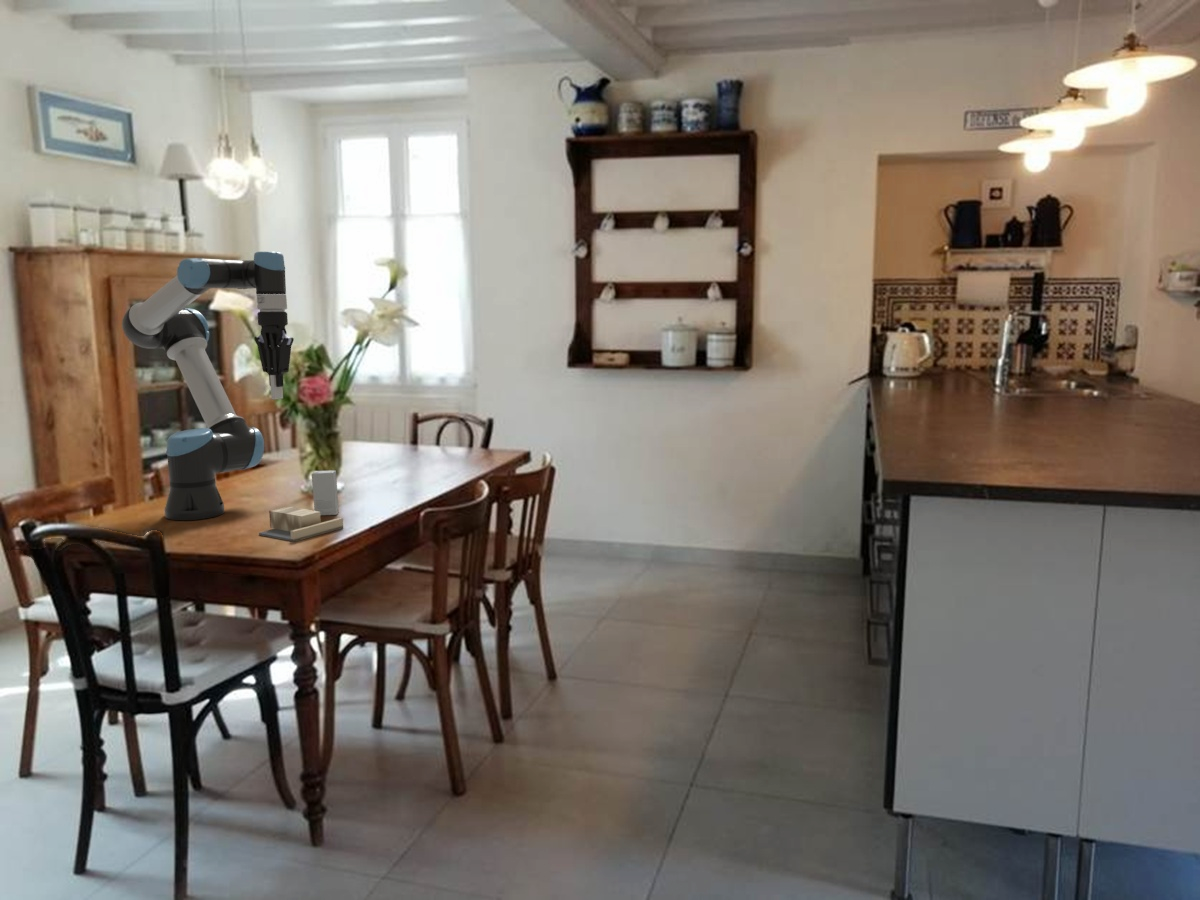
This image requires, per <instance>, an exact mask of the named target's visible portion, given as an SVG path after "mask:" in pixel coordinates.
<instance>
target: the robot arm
mask: <svg viewBox="0 0 1200 900" xmlns="http://www.w3.org/2000/svg"><path fill="white" fill-rule="evenodd" d="M178 264H179V265H178V266H177V269H176V275H175V277H173V278H172V279H170V280H169V281H168V282H167V283H166V284H164V285H163V286H162V287H161V288H159V289H158V290H157V291H156V292H154V293H153V294H152V295H150V297H148V298H147V299H146V300H145V301H143V302H137V303H135V304H133V305H132V306H131V307H130V308H128V310H127V311H126V312H125V313H124V314H123V317H122V320H121V326H122V331H123V333H124V335H125V337H126V338H127V340H129V341H130V342H131V343H132V344H134V345H135V346H137V347H140V348H142V349H143V348H144V349H154V350H155V349H163V350H164V351H165V354H166V355H167V357H168V359H170V360H172V361H176V364H177V367H178V368H179V370H180V372H181V375H182V377H183V378H184V381H185V383H186V385H187V387H188V390H189V391H190V393H191V396H192V398H193V400H194V402H195V405H196V407H197V408H198V410H199V413H200V414H201V417H202V419H203V421H204V423H205V425H206V427H197V428H194V429H193V428H190V429H186V430H185V429H184V430H181V431H177V432H175V433H172V434H170V436H169V437H168V438H167V440H166V456H167V466H168V467H167V468H168V469H167V470H168V477H169V478H168V480H169V491H168V492H169V493H168V496H167V500H166V503H165V507H164V517H165V519H168V520H173V521H195V520H203V519H204V520H206V519H210V518H214V517H218V516H221V515H223V514H225V503H224V502H223V498H222V497H221V494H220V491H219V489H218V488H217V483H216V482H217V481H216V480H217V479H216V474H221V473H227V472H232V471H240V470H243V471H244V470H246V469H250V468H253V467H256V466H258V465H259V463H260V462H261V460H262V459H263V456H264V451H265V440H264V436H263V434H262V432H261V431H260V430H259V429H258V428H256V427H253V426H248V424H247V422H246V419H245V418H244V417H242V416H240V415H237V414H236V411H235V409H234V407H233V406H232V404H231V401H230V399H229V397H228V395H227V393H226V390H225V388H224V387H223V385H222V382H221V380H220V378H219V376H218V375H217V371H216V370H215V368H214V366H213V364H212V362H211V360H210V358H209V355H208V354H207V351H206V349H207V347H208V341H209V339H210V331H209V327H210V326H209V324H208V321H207V319H206V317H205V316H204V315H203V314H202V313H201V312H200V311H199V310H197V309H194V308H189V307H188V306H189V305H191V304H192V303H193V302H194V301H195V300H197V299H198V298H200V297H201V296H202V295H204V293H206V292H207V291H209V290H210V289H238V290H247V289H249V290H251V289H255V294H256V309H257V310H259V311H258V313H257V325H258V326H260V334H259V335H258V336H254V339H253V340H254V341H255V343H256V347H257V350H258V354H259V360H260V364H261V369H262V372H263V373H267V375H268V378H269V379H268V380H269V387H270V396H271V397H270V399H271V400H282V399H284V392H283V389H284V388H283V387H284V374H286V373H289V372H290V371H289V370H290V361H291V354H292V353H291V352H292V346H293V343H294V341H295V340H294V339H295V338H294V337H292V336H291V337H290V336H289V335H288V333H287V330H286V326H287V325H288V323H289V322H288V312H287V311H286V310H287V309H288V304H287V303H288V302H287V300H288V299H287V290H286V289H287V285H286V265H285V259H284V254H283V253H282V252H278V251H256V252H254V255H253V259H252V260H251V259H250V260H249V259H248V260H245V259H243V260H241V259H240V260H239V259H215V258H200V257H191V258H189V257H188V258H183V259H181V260H180V262H178Z"/></svg>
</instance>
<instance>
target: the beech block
mask: <svg viewBox="0 0 1200 900" xmlns="http://www.w3.org/2000/svg"><path fill="white" fill-rule="evenodd" d="M268 513H269V514H268V515H269V528H271V529H280V530H285V531H292V530H296V529H300V528H303V527H307V526H311V525H315V524H318V523H321V522H322V521H321V520H322V519H321V515H320V512H319V511H314V510H312V509H307V508H301V507H295V506H284V507H279V508H276V509H275V508H274V509H272V510H271V509H270V510H269V511H268Z"/></svg>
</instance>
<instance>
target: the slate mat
mask: <svg viewBox="0 0 1200 900" xmlns="http://www.w3.org/2000/svg"><path fill="white" fill-rule="evenodd" d="M342 529H344V519H343V518H341V517H338V518H334V519H330V520H325V521H321V523H318V524H315V525H311V526H307V527H303V528H300V529H296V530H292V531H285V530H280V529H275V528H271V529H268V530H265V531H261V532H258V535H259V536H263V537H267V538H273V539H278V540H282V541H289V542H292V543H293V542H299V541H302V540H303V541H304V540H306V539H309V538H313V537H316V536H319V535H324V534H327V533H331V532H335V531H338V530H342Z"/></svg>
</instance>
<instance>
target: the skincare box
mask: <svg viewBox="0 0 1200 900" xmlns="http://www.w3.org/2000/svg"><path fill="white" fill-rule="evenodd" d="M337 482H338V479H337V471H336V470H314V471H313V472H312V473H311V484H312V495H313V497H312V498H313V507H314V508H313V509H314V510H313V511H319V512H320V516H336V515H338V514H339V513H340V509H339V506H340V505H339V494H338V493H339V491H338V483H337Z"/></svg>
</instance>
